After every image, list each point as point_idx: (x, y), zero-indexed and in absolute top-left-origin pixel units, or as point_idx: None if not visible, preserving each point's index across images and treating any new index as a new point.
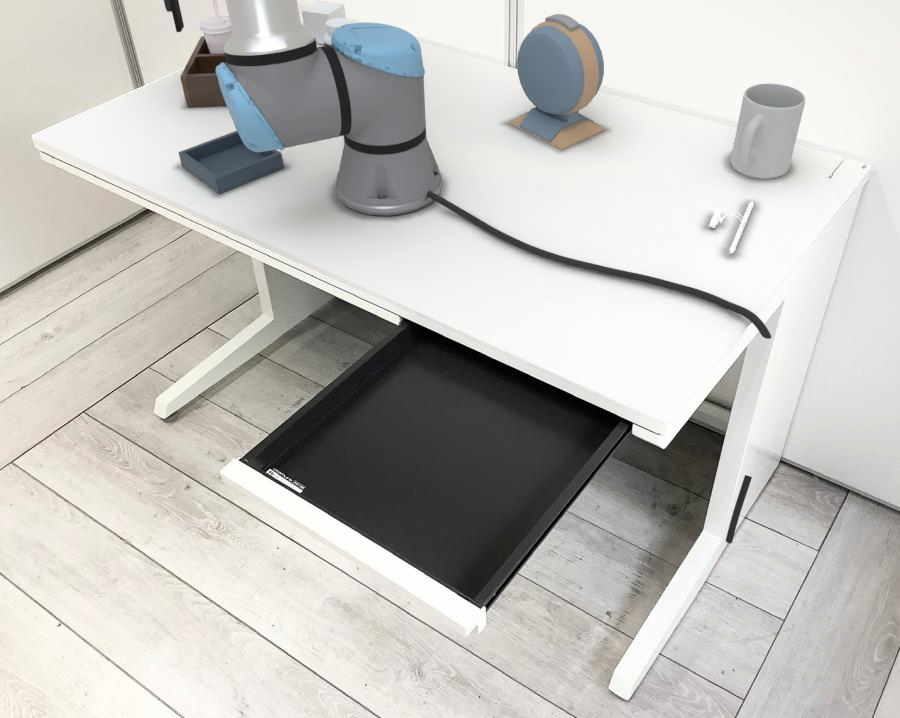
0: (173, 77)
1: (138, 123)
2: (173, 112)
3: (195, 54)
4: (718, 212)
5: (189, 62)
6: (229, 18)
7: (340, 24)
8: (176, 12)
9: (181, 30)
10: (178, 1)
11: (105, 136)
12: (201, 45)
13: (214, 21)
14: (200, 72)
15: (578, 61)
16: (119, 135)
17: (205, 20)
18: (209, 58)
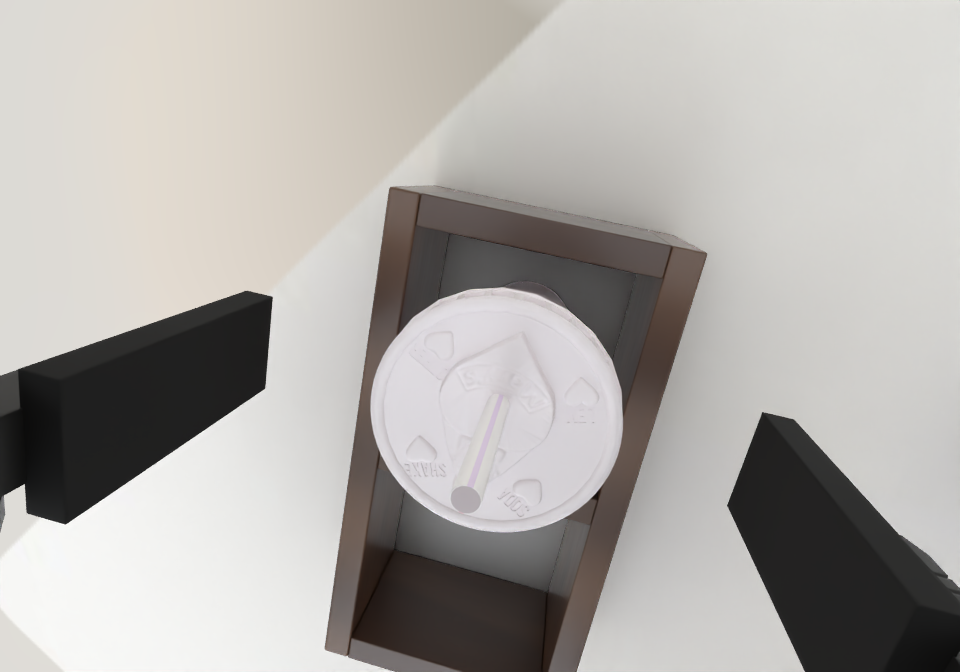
0: (296, 279)
1: (232, 610)
2: (330, 577)
3: (373, 445)
4: None
5: (351, 527)
6: (581, 383)
7: None
8: (185, 442)
9: (266, 367)
10: (157, 341)
11: (155, 651)
12: (397, 331)
13: (470, 423)
14: None
15: None
16: (192, 659)
17: (407, 355)
18: None
